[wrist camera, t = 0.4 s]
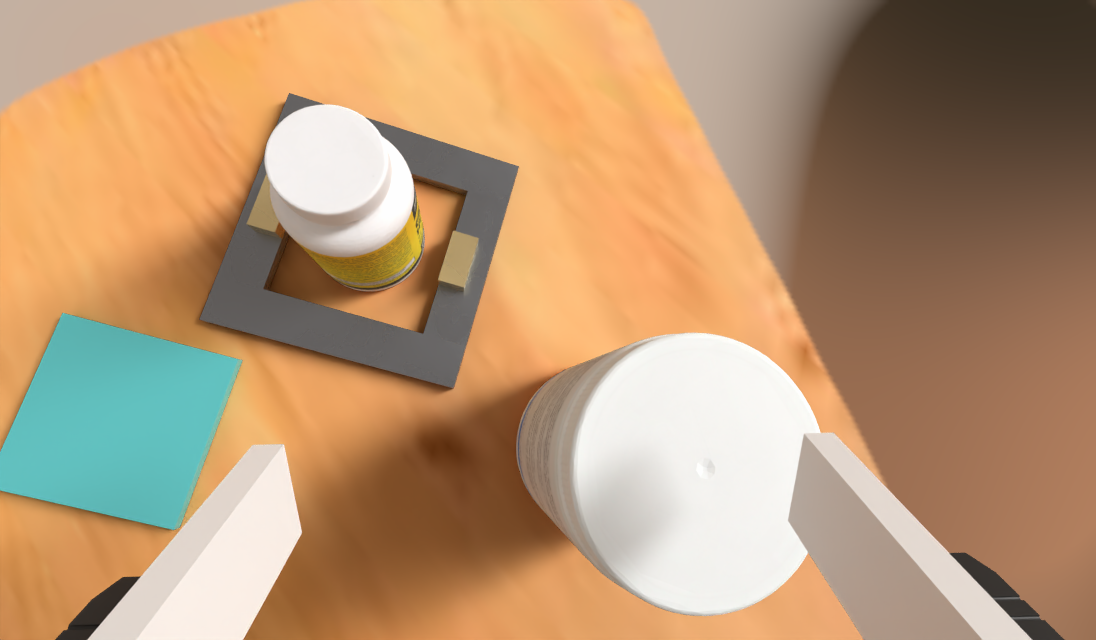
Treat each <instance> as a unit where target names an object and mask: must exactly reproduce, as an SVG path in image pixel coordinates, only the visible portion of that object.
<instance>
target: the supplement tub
mask: <svg viewBox="0 0 1096 640" xmlns="http://www.w3.org/2000/svg"><path fill="white" fill-rule="evenodd" d="M804 433H820V430H819V427H818V424H817V422H816V419H815V416H814V414H813V412H812V410H811V408H810V406H809V404H808V402H807V401H806V399H805V398H804V396H803V394H802V393H801V391H800V390H799V389H798V387H797V386H796V385H795V383H794V382H793V381H792V380H791V378H790V377H789V376H788V375H787V374H786V373H785V372H784V371H783V370H782V369H781V368H780V367H779V366H778V365H776V364H775V363H774V362H773V361H771V360H770V359H769V358H768V357H767V356H765V355H763V354H762V353H760V352H759V351H757V350H755V349H754V348H752V347H750V346H748V345H746V344H744V343H741V342H739V341H736V340H733V339H730V338H727V337H723V336H719V335H714V334H708V333H682V334H668V335H661V336H656V337H651V338H648V339H644V340H641V341H638V342H635V343H632V344H630V345H627V346H624V347H622V348H619V349H617V350H614V351H612V352H609V353H607V354H604V355H601V356H599V357H596V358H594V359H591V360H589V361H586V362H584V363H581V364H578V365H576V366H573V367H571V368H568V369H566V370H564V371H562V372H560V373H558V374H557V375H555V376H554V377H552V378H551V379H549V380H548V381H547V382H546V383H544V384H543V385H542V386H541V387H540V389H539V390H538V391H537V392H536V393H535V394H534V395H533V397H532V398H531V399H530V401H529V403H528V405H527V407H526V409H525V411H524V413H523V415H522V418H521V421H520V424H519V428H518V433H517V442H516V454H517V463H518V467H519V470H520V474H521V477H522V480H523V482H524V484H525V486H526V488H527V490H528V492H529V493H530V495H531V496H532V498H533V499H534V500H535V502H536V503H537V504H538V505H539V507H540V508H541V509H542V510H543V511H544V512H545V513H546V514H547V515H548V517H549V518H550V519H551V520H552V521H553V522H554V523H555V524H556V525H557V527H558V528H559V529H560V530H561V531H562V532H563V533H564V534H565V535H566V536H567V538H568V539H569V540H570V541H571V542H572V543H573V544H574V545H575V546H576V548H577V549H578V550H579V551H580V552H581V553H582V554H583V555H584V556H585V557H586V558H587V559H588V560H589V561H590V562H591V563H592V564H593V565H594V566H595V567H596V568H597V569H598V570H599V571H600V572H601V573H602V574H603V575H605V576H606V577H607V578H609V579H610V580H611V581H613V582H614V583H616V584H617V585H619V586H621V587H622V588H624V589H625V590H627V591H628V592H630V593H632V594H633V595H635V596H637V597H639V598H640V599H642V600H644V601H645V602H648V603H650V604H652V605H654V606H656V607H658V608H661V609H664V610H667V611H670V612H673V613H679V614H684V615H691V616H713V615H721V614H726V613H731V612H734V611H738V610H741V609H744V608H746V607H749V606H751V605H754V604H755V603H757V602H759V601H761V600H763V599H764V598H766V597H767V596H769V595H770V594H772V593H773V592H775V591H776V590H777V589H778V588H779V587H780V586H781V585H783V584H784V583H785V582H786V581H787V580H788V579H789V578H790V577H791V576H792V575H793V573H794V572H795V571H796V570H797V569H798V567H799V566H800V565H801V563H802V562H803V560H804V559H805V557H806V555H807V554H808V551H807V550H806V548H805V547H804V545H803V544H802V542H801V540H800V539H799V537H798V536H797V534H796V533H795V531H794V529H793V528H792V526H791V525H790V523H789V522H788V517H789V511H790V506H791V501H792V495H793V490H794V484H795V479H796V474H797V468H798V463H799V457H800V452H801V446H802V441H803V436H804Z"/></svg>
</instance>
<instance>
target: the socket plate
mask: <svg viewBox="0 0 1096 640" xmlns="http://www.w3.org/2000/svg"><path fill="white" fill-rule="evenodd" d="M315 105H325V104H322V103H319V102H316V101H313V100H309V99H306V98H303V97H300V96H297V95H294V94H291V93H289V95H288V97H287V100H286V103H285V105H284V108H283V110H282V113H281V115H280V118H279V120H278V123H277V125H278V124H279V123H280V122H281V121H282V120H283V119H285V118H286V117H287V116H289V115H290V114H292V113H293V112H295V111H298V110H300V109H303V108H305V107H309V106H315ZM365 118H366V117H365ZM366 119H367V120H369V121H370V122H371V123H372V124H373V125H374V126H375V127H376V129H377V130H378V131H379V133H380V134H381V136H382V137H384V138H385V139H386V140H388V141H389V142H390V143H391V144H392V145H393V146H394V147H395V148H396V149H397V150H398V151H399V152H400V154H401V155H402V156H403V158H404V160H405V161H406V163H407V165H408V167H409V170H410V172H411V175H412V179H415V180H418V181H421V182H424V183H427V184H431V185H434V186H437V187H440V188H444V189H447V190H450V191H453V192H456V193H460V194H463V195H466V198H465V202H464V205H463V208H462V211H461V215H460V218H459V221H458V224H457V227H456V231H454V230H453V233H452V236H451V239H450V242H449V246H448V249H447V252H446V255H445V258H444V262H443V265H442V268H441V271H440V275H439V278H438V283H439V285H438V288H437V292H436V295H435V298H434V301H433V304H432V308H431V311H430V314H429V317H428V321H427V324H426V327H425V330H424V333H423V334H422V333H418V332H415V331H411V330H408V329H404V328H401V327H397V326H393V325H390V324H386V323H383V322H379V321H375V320H372V319H368V318H365V317H361V316H358V315H354V314H350V313H347V312H343V311H340V310H336V309H333V308H329V307H325V306H322V305H318V304H315V303H311V302H307V301H304V300H300V299H297V298H293V297H290V296H286V295H282V294H279V293H275V292H272V291H269V288H270V286H271V283H272V280H273V278H274V275H275V272H276V270H277V267H278V264H279V262H280V259H281V256H282V254H283V251H284V248H285V246H286V243H287V240H288V238H289V234H288V233H287V232H286V230H285V229H284V228H283V226H282V225H281V223H280V222H279V220H278V218H277V216H276V214H275V212H274V209H273V206H272V202H271V198H270V182H269V179H268V177H267V173H266V170H265V163H264V158H265V155H264V158H263V161H262V163H261V166H260V168H259V171H258V173H257V176H256V178H255V181H254V183H253V186H252V188H251V191H250V193H249V196H248V198H247V201H246V203H245V206H244V208H243V211H242V213H241V216H240V218H239V221H238V224H237V226H236V229H235V231H234V234H233V236H232V239H231V241H230V244H229V246H228V249H227V251H226V254H225V256H224V259H223V261H222V264H221V266H220V269H219V271H218V274H217V276H216V279H215V282H214V284H213V287H212V289H211V292H210V294H209V297H208V299H207V302H206V304H205V307H204V309H203V312H202V314H201V317H200V319H199V320H202V321H205V322H209V323H212V324H216V325H220V326H223V327H227V328H231V329H234V330H238V331H242V332H246V333H249V334H253V335H257V336H260V337H264V338H268V339H272V340H275V341H279V342H283V343H286V344H290V345H294V346H297V347H301V348H305V349H309V350H312V351H316V352H320V353H323V354H327V355H331V356H335V357H338V358H342V359H346V360H349V361H353V362H357V363H361V364H364V365H368V366H372V367H375V368H379V369H383V370H386V371H390V372H394V373H398V374H401V375H405V376H409V377H412V378H416V379H420V380H424V381H427V382H431V383H435V384H438V385H442V386H446V387H449V388H453V389H454V386H455V383H456V379H457V376H458V373H459V369H460V366H461V362H462V359H463V356H464V352H465V349H466V345H467V342H468V339H469V335H470V332H471V328H472V325H473V322H474V318H475V315H476V311H477V308H478V305H479V301H480V298H481V294H482V291H483V288H484V284H485V281H486V277H487V274H488V271H489V267H490V264H491V260H492V257H493V254H494V250H495V247H496V243H497V240H498V237H499V233H500V230H501V226H502V223H503V220H504V216H505V213H506V209H507V206H508V203H509V199H510V196H511V192H512V189H513V186H514V182H515V179H516V175H517V172H518V168H519V166H516V165H513V164H509V163H506V162H503V161H500V160H497V159H494V158H491V157H488V156H484V155H481V154H478V153H475V152H472V151H469V150H466V149H463V148H459V147H456V146H453V145H450V144H447V143H444V142H441V141H438V140H434V139H431V138H428V137H425V136H422V135H419V134H416V133H413V132H409V131H406V130H403V129H400V128H397V127H394V126H391V125H388V124H384V123H381V122H378V121H375V120H372V119H369V118H366ZM277 125H276V126H277Z"/></svg>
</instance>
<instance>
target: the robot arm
mask: <svg viewBox="0 0 1096 640" xmlns="http://www.w3.org/2000/svg"><path fill="white" fill-rule="evenodd" d="M788 522H789V523H790V525H791V526H792V528H793V529H794V531H795V533H796V534H797V536H798V537H799V539H800V540H801V542H802V544H803V545H804V547H805V548H806V550H807V551H808V553H809V555H810V556H811V558H812V559H813V561H814V562H815V564H816V565H817V567H818V569H819V570H820V572H821V573H822V575H823V576H824V578H825V580H826V581H827V583H828V584H829V586H830V587H831V589H832V591H833V592H834V594H835V595H836V597H837V598H838V600H839V602H840V603H841V605H842V606H843V608H844V609H845V611H846V613H847V614H848V616H849V617H850V619H851V620H852V622H853V624H854V625H855V627H856V628H857V630H858V631H859V633H860V635H861V636H862V638H863V639H864V640H1064V639H1063V638H1062V637H1061V636H1060V635H1059V634H1058V633H1057V632H1056V631H1055V630H1054V629H1053V628H1052V627H1051V626H1050V625H1049V624H1048V623H1047V622H1046V621H1045V620H1041V619H1040V617H1039V614H1038V613H1036V611H1035V610H1033V608H1031V607H1030V606H1029V605H1028V604H1027V603H1026V602H1025V601H1024V600H1020V598H1019V595H1018V594H1017V593H1016V592H1015V591H1014V590H1013V589H1012V588H1011V587H1010V586H1009V585H1008V584H1007V583H1006V582H1005V581H1004V580H1003V579H1002V578H1001V577H1000V576H999V575H998V574H997V573H996V572H994V571H993V570H991V569H990V568H988V567H987V566H985V565H983V564H982V563H980V562H979V561H977V560H976V559H974V558H973V557H971V556H970V555H968V554H966V553H948V552H947V551H946V549H945V548H944V547H943V546H942V545H941V544H940V543H939V542H938V541H937V540H936V539H935V538H934V537H933V536H932V535H931V534H930V533H929V532H928V531H927V530H926V529H925V528H924V527H923V526H922V524H921V523H920V522H919V521H918V520H917V519H916V518H915V517H914V516H913V515H912V514H911V513H910V512H909V511H908V510H907V509H906V508H905V507H904V506H903V505H902V504H901V503H900V502H899V500H898V499H897V498H896V497H895V496H894V495H893V494H892V493H891V492H890V491H889V490H888V489H887V488H886V487H885V486H884V485H883V484H882V483H881V482H880V481H879V480H878V479H877V478H876V476H875V475H874V474H873V473H872V472H871V471H870V470H869V469H868V468H867V467H866V466H865V465H864V464H863V463H862V462H861V461H860V460H859V459H858V458H857V457H856V456H855V455H854V454H853V453H852V451H851V450H850V449H849V448H848V447H847V446H846V445H845V444H844V443H843V442H842V441H841V440H840V439H839V438H838V437H837V436H836V435H835V434H834V433H804V436H803V441H802V446H801V452H800V457H799V463H798V468H797V474H796V479H795V484H794V490H793V495H792V501H791V506H790V511H789V517H788ZM301 534H302V530H301V525H300V521H299V516H298V511H297V506H296V501H295V496H294V491H293V486H292V482H291V477H290V472H289V467H288V462H287V457H286V452H285V447H284V444H276V445H252V446H251V448H250V449H249V450H248V451H247V452H246V453H245V455H244V456H243V457H242V458H241V459H240V461H239V462H238V463H237V464H236V465H235V466H234V468H233V469H232V470H231V471H230V472H229V474H228V475H227V476H226V477H225V478H224V479H223V481H222V482H221V483H220V484H219V485H218V486H217V488H216V489H215V490H214V491H213V492H212V494H211V495H210V496H209V497H208V498H207V499H206V501H205V502H204V503H203V504H202V505H201V506H200V508H199V509H198V510H197V511H196V512H195V514H194V515H193V516H192V517H191V518H190V519H189V521H188V522H187V523H186V524H185V525H184V527H183V528H182V529H181V530H180V531H179V532H178V534H177V535H176V536H175V537H174V538H173V539H172V541H171V542H170V543H169V544H168V545H167V547H166V548H165V549H164V550H163V551H162V552H161V554H160V555H159V556H158V557H157V558H156V559H155V561H154V562H153V563H152V564H151V565H150V567H149V568H148V569H147V570H146V571H145V572H144V574H143V575H142V576H141V577H122V578H121V579H120V580H118V581H117V582H115V583H114V584H113V585H111V586H110V587H109V588H107V589H106V590H104V591H103V592H102V593H100V594H99V595H97V596H96V597H95V598H93V599H92V600H91V601H90V602H89V603H88V604H87V606H86V607H85V608H84V609H83V610H82V611H81V612H80V613H79V614H78V615H77V616H76V618H75V619H74V620H73V621H72V622H71V623H70V624H69V627H68V629H67V630H64V631H63V632H62V633H61V634H60V635H59V636H58V637H57V638H56V640H243V639H244V637H245V635H246V634H247V632H248V630H249V628H250V626H251V624H252V623H253V621H254V619H255V617H256V615H257V614H258V612H259V610H260V608H261V606H262V605H263V603H264V601H265V599H266V597H267V595H268V594H269V592H270V590H271V588H272V586H273V585H274V583H275V581H276V579H277V577H278V575H279V574H280V572H281V570H282V568H283V566H284V565H285V563H286V561H287V559H288V557H289V556H290V554H291V552H292V550H293V548H294V546H295V545H296V543H297V541H298V539H299V537H300V536H301Z"/></svg>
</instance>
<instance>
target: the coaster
mask: <svg viewBox="0 0 1096 640" xmlns="http://www.w3.org/2000/svg"><path fill="white" fill-rule="evenodd" d="M241 363H242V360H240V359H236V358H232V357H228V356H224V355H221V354H217V353H213V352H209V351H205V350H202V349H198V348H194V347H190V346H187V345H183V344H179V343H175V342H171V341H168V340H164V339H160V338H156V337H152V336H149V335H145V334H141V333H137V332H134V331H130V330H126V329H122V328H118V327H115V326H111V325H107V324H103V323H99V322H96V321H92V320H88V319H84V318H81V317H77V316H73V315H69V314H65V313H62V316H61V318H60V320H59V322H58V324H57V327H56V329H55V331H54V333H53V336H52V338H51V340H50V342H49V344H48V347H47V349H46V351H45V353H44V356H43V358H42V360H41V362H40V365H39V367H38V369H37V371H36V373H35V376H34V378H33V380H32V382H31V385H30V387H29V389H28V391H27V393H26V396H25V398H24V400H23V402H22V405H21V407H20V409H19V411H18V414H17V416H16V418H15V420H14V422H13V425H12V427H11V429H10V431H9V434H8V436H7V438H6V440H5V443H4V445H3V447H2V449H1V451H0V490H1V491H5V492H9V493H14V494H18V495H23V496H27V497H31V498H36V499H40V500H45V501H49V502H53V503H58V504H62V505H67V506H71V507H75V508H80V509H84V510H89V511H93V512H97V513H102V514H106V515H111V516H115V517H119V518H124V519H128V520H133V521H137V522H141V523H146V524H150V525H155V526H159V527H163V528H168V529H172V530H175V529H177V528H180V526H181V523H182V520H183V518H184V515H185V512H186V510H187V507H188V504H189V502H190V499H191V496H192V494H193V491H194V488H195V486H196V483H197V480H198V478H199V475H200V472H201V470H202V467H203V464H204V462H205V459H206V456H207V454H208V451H209V448H210V446H211V443H212V440H213V438H214V435H215V432H216V430H217V427H218V424H219V422H220V419H221V416H222V414H223V411H224V408H225V406H226V403H227V400H228V398H229V395H230V392H231V390H232V387H233V384H234V382H235V379H236V376H237V374H238V371H239V368H240V366H241Z"/></svg>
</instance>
